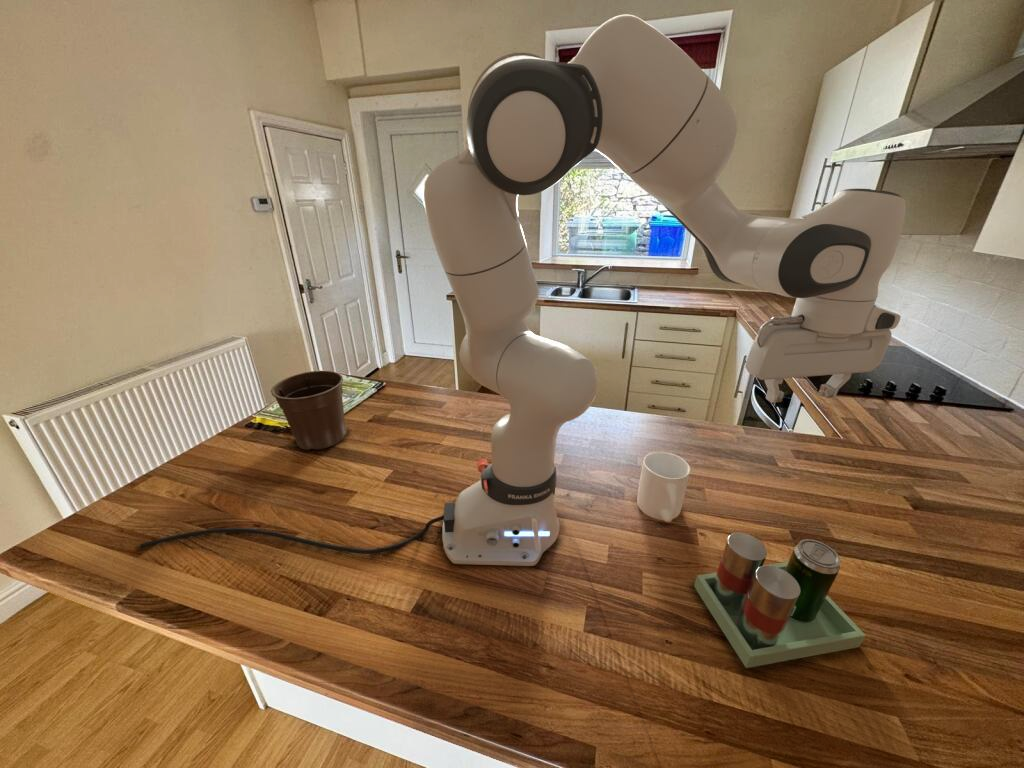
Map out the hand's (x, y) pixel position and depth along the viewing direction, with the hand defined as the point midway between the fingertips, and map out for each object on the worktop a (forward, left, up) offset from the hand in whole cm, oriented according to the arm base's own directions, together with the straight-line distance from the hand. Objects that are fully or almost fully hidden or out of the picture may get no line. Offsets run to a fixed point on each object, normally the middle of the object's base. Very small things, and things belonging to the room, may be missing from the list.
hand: (799, 398), depth 64 cm
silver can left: (-14, -13, -28) cm, 34 cm away
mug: (-15, +7, -29) cm, 33 cm away
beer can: (-5, -15, -28) cm, 33 cm away
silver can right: (-14, -19, -28) cm, 37 cm away
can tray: (-9, -16, -28) cm, 34 cm away
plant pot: (-90, +47, -29) cm, 106 cm away
